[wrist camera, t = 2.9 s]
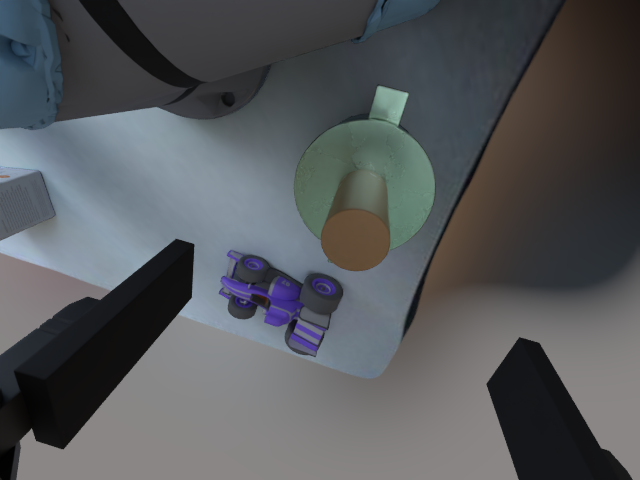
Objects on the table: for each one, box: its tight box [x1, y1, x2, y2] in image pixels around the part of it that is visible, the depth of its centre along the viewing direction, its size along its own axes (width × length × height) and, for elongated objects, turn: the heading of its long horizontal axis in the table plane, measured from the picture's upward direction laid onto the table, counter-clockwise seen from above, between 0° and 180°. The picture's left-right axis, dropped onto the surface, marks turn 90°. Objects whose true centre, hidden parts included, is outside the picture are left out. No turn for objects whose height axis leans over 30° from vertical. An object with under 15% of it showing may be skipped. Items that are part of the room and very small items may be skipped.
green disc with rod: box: [294, 119, 436, 271], centre depth 23 cm, size 11×11×10 cm
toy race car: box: [219, 251, 343, 357], centre depth 41 cm, size 10×15×6 cm, turn 72°
